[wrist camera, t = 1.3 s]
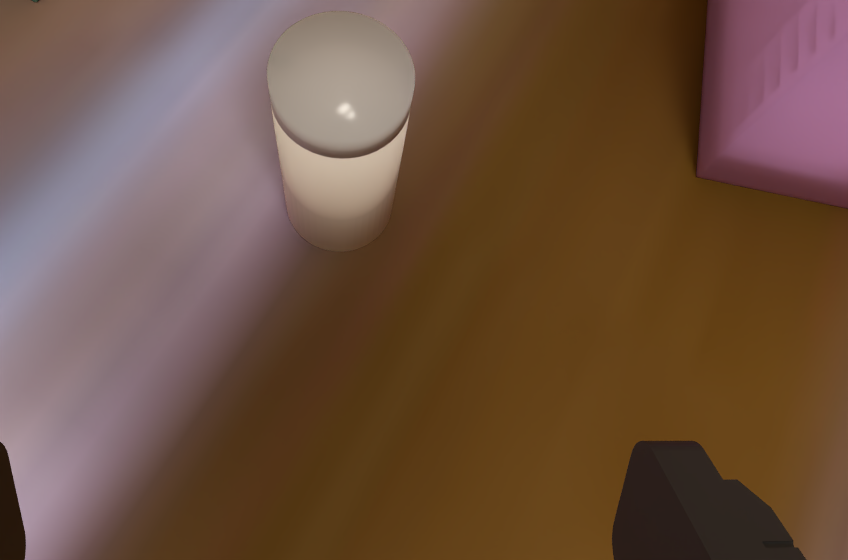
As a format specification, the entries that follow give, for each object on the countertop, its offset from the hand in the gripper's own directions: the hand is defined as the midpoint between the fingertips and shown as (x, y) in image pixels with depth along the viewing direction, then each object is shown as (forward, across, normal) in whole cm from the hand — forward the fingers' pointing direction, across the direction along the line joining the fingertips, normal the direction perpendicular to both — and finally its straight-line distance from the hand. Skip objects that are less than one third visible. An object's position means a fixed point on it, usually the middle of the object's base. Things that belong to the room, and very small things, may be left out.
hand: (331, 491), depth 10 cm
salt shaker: (+23, 0, +5) cm, 24 cm away
